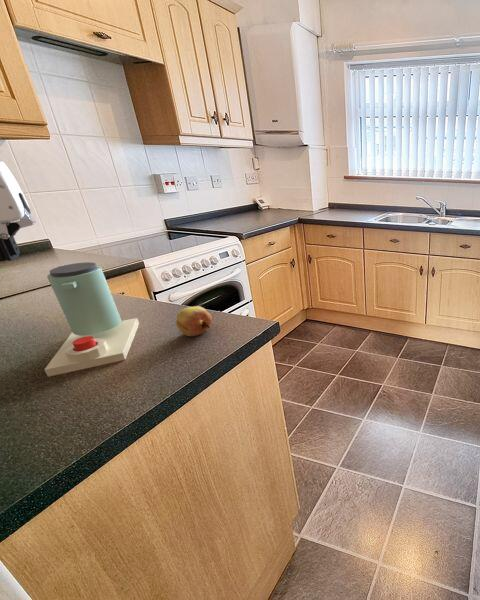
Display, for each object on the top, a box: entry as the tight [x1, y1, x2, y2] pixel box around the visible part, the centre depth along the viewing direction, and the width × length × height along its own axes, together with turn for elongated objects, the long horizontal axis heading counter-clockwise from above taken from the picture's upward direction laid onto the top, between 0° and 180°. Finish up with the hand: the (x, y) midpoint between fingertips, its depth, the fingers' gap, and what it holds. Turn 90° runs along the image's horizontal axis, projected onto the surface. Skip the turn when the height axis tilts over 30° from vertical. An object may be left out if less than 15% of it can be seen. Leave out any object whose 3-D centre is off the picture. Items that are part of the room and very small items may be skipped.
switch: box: [72, 336, 97, 351], centre depth 67 cm, size 3×3×2 cm
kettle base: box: [44, 317, 140, 378], centre depth 73 cm, size 18×12×4 cm, turn 28°
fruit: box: [175, 305, 213, 337], centre depth 78 cm, size 7×7×10 cm
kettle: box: [46, 261, 122, 336], centre depth 72 cm, size 12×8×14 cm
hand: (9, 258), depth 63 cm, fingers closed
